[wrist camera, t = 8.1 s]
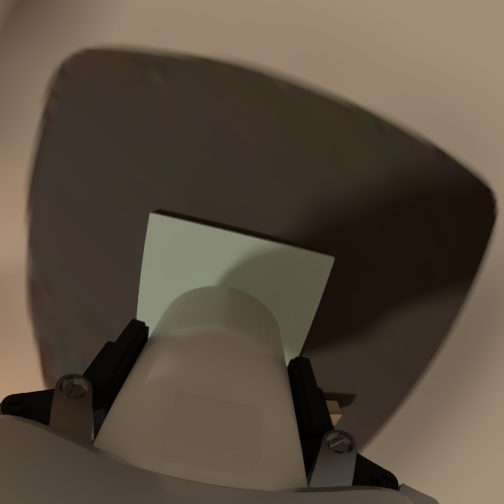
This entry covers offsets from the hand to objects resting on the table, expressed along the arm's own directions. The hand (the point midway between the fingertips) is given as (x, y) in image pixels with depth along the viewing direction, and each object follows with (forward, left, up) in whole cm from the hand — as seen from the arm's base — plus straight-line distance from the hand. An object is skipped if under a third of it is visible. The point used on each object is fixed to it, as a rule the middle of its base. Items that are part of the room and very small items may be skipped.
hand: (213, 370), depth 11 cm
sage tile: (0, 0, -5) cm, 5 cm away
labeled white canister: (0, 0, -2) cm, 2 cm away
